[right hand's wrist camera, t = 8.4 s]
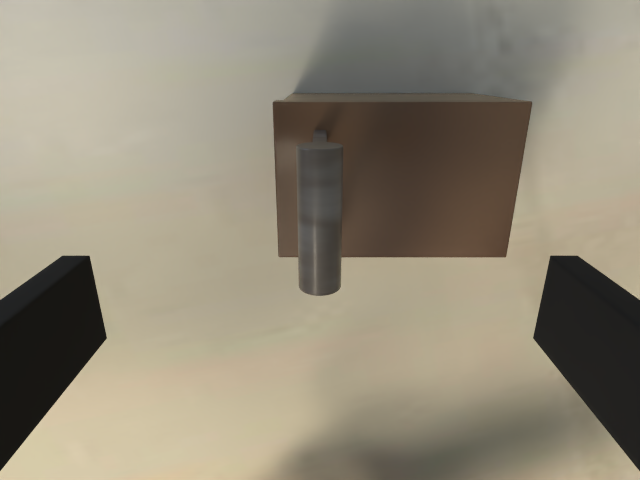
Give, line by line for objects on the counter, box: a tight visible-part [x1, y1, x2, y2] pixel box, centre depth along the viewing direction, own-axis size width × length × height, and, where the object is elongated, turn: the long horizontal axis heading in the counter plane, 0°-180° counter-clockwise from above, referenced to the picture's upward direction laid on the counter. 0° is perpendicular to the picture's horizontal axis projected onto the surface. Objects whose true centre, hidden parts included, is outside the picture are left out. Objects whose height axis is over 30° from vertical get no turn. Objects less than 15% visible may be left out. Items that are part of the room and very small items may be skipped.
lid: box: [273, 100, 532, 296], centre depth 22 cm, size 14×9×9 cm, turn 90°
